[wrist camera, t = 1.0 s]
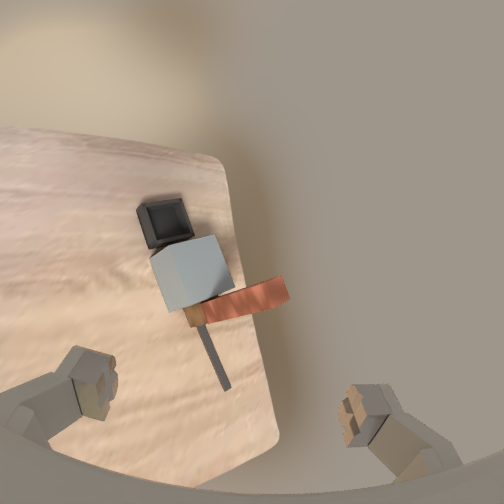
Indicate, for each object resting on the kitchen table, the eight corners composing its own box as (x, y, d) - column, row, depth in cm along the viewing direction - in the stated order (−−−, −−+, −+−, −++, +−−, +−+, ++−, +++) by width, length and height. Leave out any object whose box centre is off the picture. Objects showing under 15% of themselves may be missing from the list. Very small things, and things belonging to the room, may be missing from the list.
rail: (166, 248, 51) (167, 247, 51) (173, 246, 52) (174, 245, 52) (224, 391, 49) (225, 391, 49) (230, 387, 50) (231, 387, 50)
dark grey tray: (136, 210, 49) (141, 203, 47) (174, 204, 55) (181, 198, 53) (148, 249, 49) (155, 244, 47) (187, 240, 54) (194, 235, 53)
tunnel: (149, 259, 48) (168, 245, 43) (192, 247, 55) (215, 234, 50) (169, 312, 48) (191, 305, 43) (210, 295, 54) (235, 287, 50)
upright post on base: (168, 269, 49) (239, 228, 37) (189, 262, 52) (263, 223, 40) (191, 328, 48) (271, 309, 36) (211, 318, 52) (293, 297, 39)
